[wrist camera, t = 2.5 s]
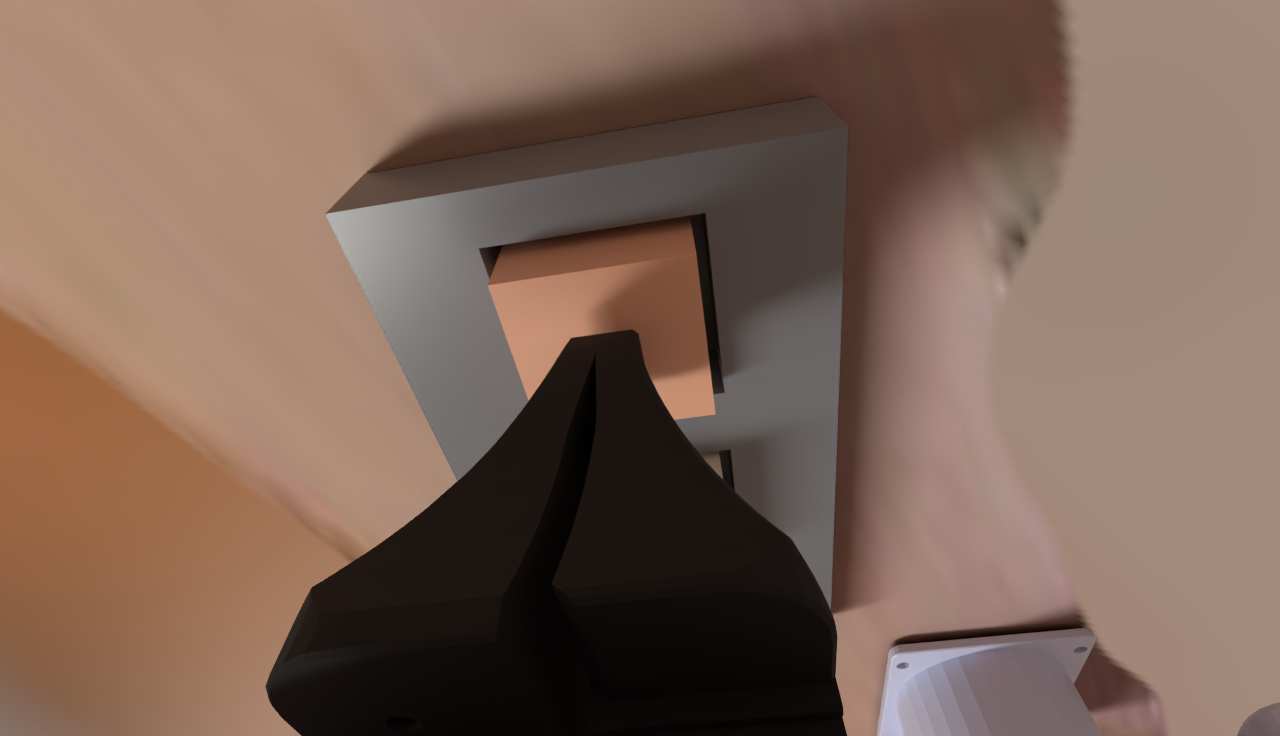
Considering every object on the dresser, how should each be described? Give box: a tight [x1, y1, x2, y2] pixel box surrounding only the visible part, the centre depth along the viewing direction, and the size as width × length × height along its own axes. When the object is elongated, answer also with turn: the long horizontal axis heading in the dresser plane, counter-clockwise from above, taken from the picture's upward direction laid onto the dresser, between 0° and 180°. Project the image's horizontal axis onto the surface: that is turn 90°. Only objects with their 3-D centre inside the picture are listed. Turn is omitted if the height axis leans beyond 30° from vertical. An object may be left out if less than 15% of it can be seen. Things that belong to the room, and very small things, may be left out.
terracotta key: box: [488, 215, 716, 420], centre depth 14 cm, size 4×4×2 cm
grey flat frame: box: [326, 96, 849, 610], centre depth 18 cm, size 20×10×2 cm, turn 9°
